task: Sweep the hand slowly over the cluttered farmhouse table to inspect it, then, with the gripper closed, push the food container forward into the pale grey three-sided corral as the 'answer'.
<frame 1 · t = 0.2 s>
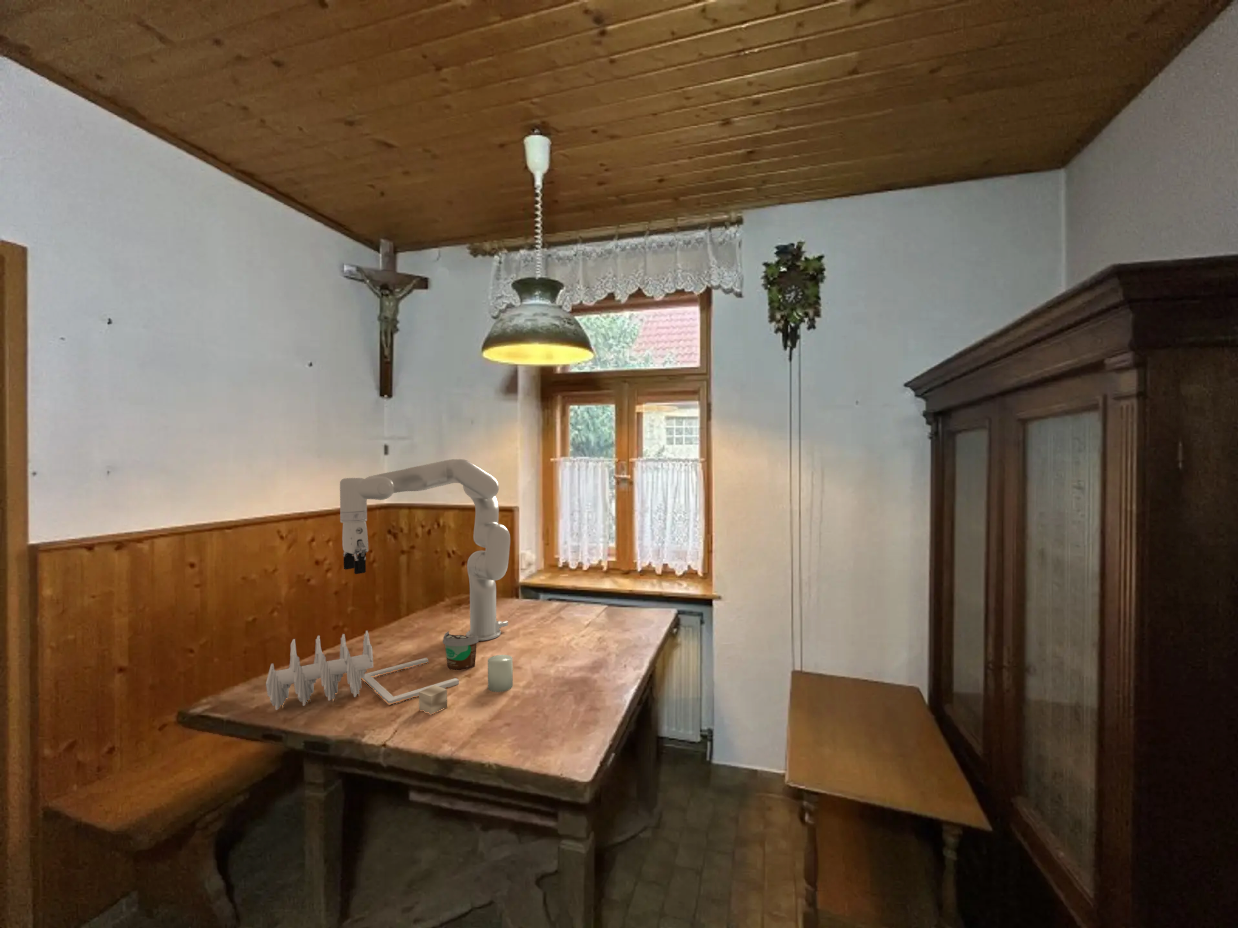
hand: (354, 570, 168), 31 cm above the table, tool pointing down, fingers open, 9 cm apart
spiral staircase: (323, 701, 146), on the table
food container: (456, 668, 168), on the table
pale green cylinder: (500, 686, 154), on the table
birch block: (433, 709, 140), on the table
corral: (412, 680, 159), on the table
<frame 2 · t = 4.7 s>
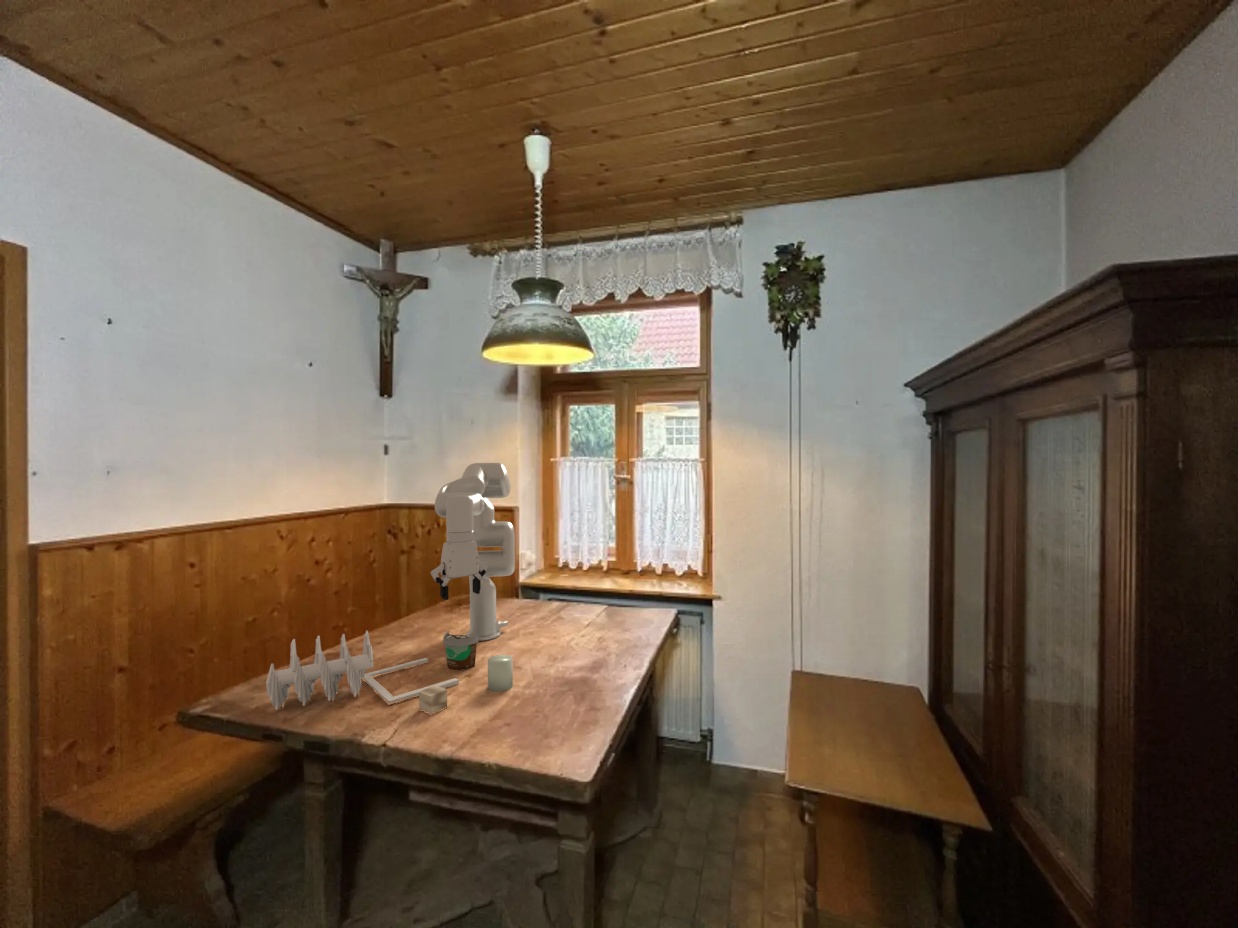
hand: (460, 596, 154), 26 cm above the table, tool pointing down, fingers open, 9 cm apart
nothing on the table moved.
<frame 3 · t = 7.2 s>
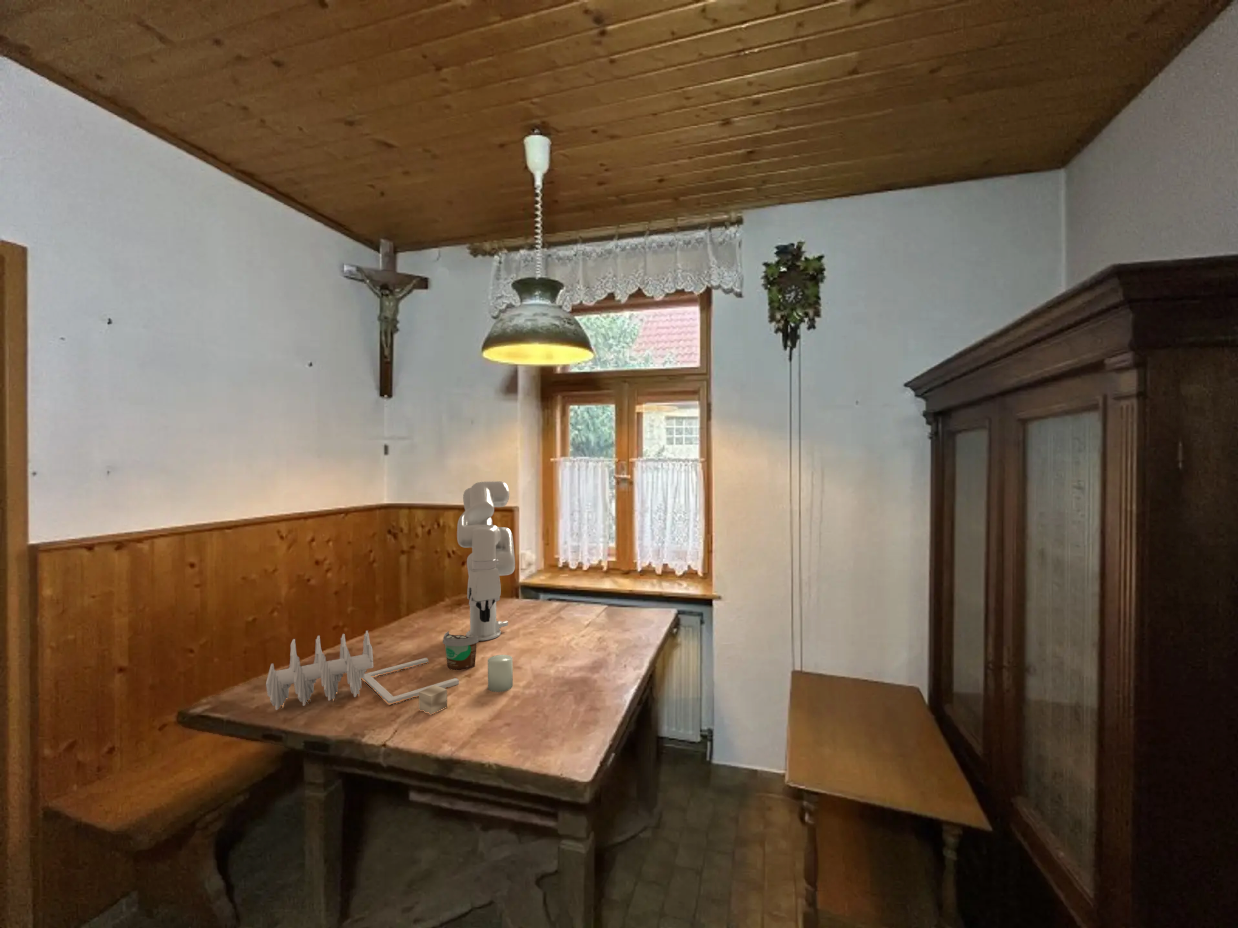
hand: (485, 621, 174), 13 cm above the table, tool pointing down, fingers closed
nothing on the table moved.
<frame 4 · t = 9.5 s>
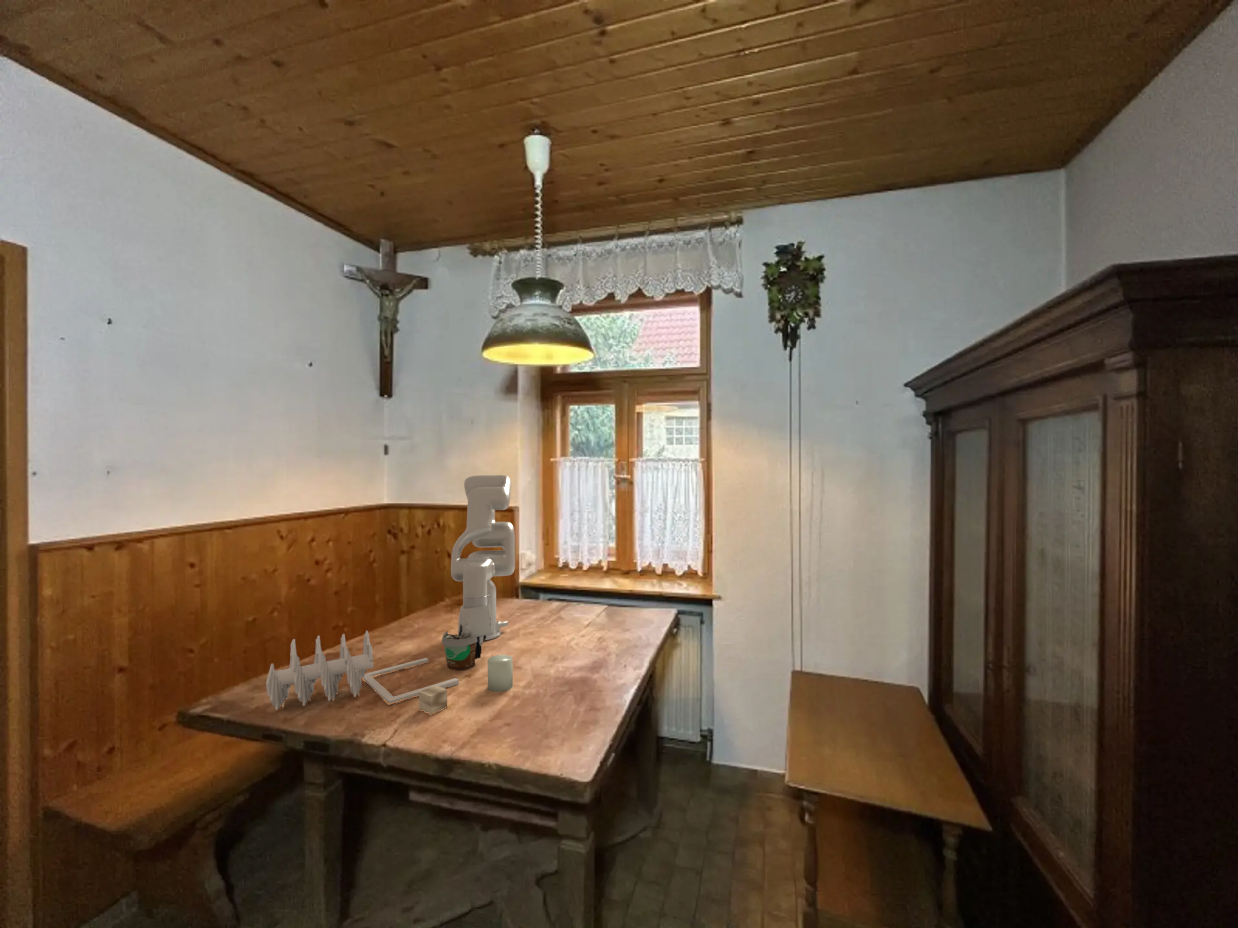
hand: (476, 657, 173), 2 cm above the table, tool pointing down, fingers closed
nothing on the table moved.
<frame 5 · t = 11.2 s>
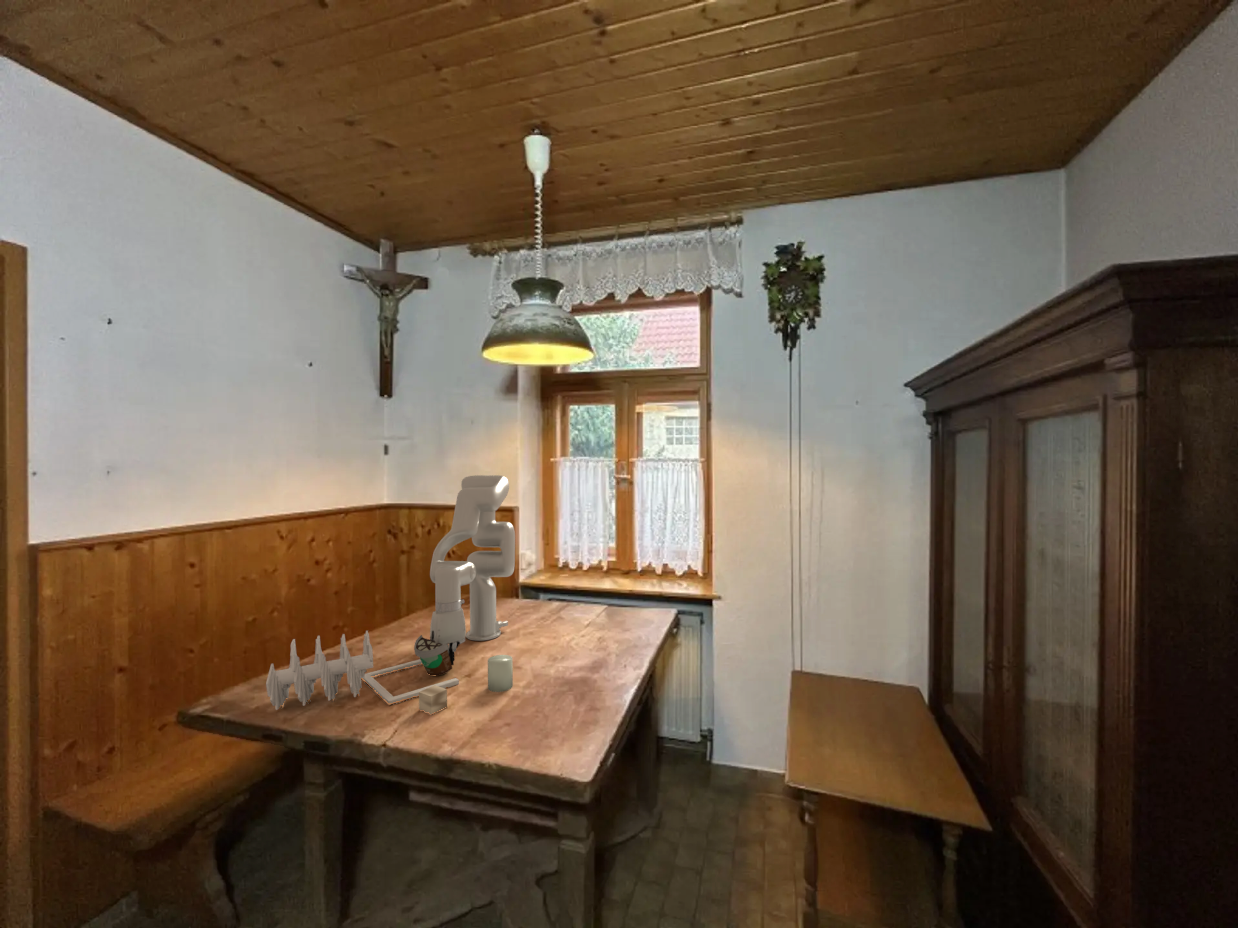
hand: (448, 664, 166), 2 cm above the table, tool pointing down, fingers closed
food container: (434, 671, 164), on the table, touching gripper
everything else where it was.
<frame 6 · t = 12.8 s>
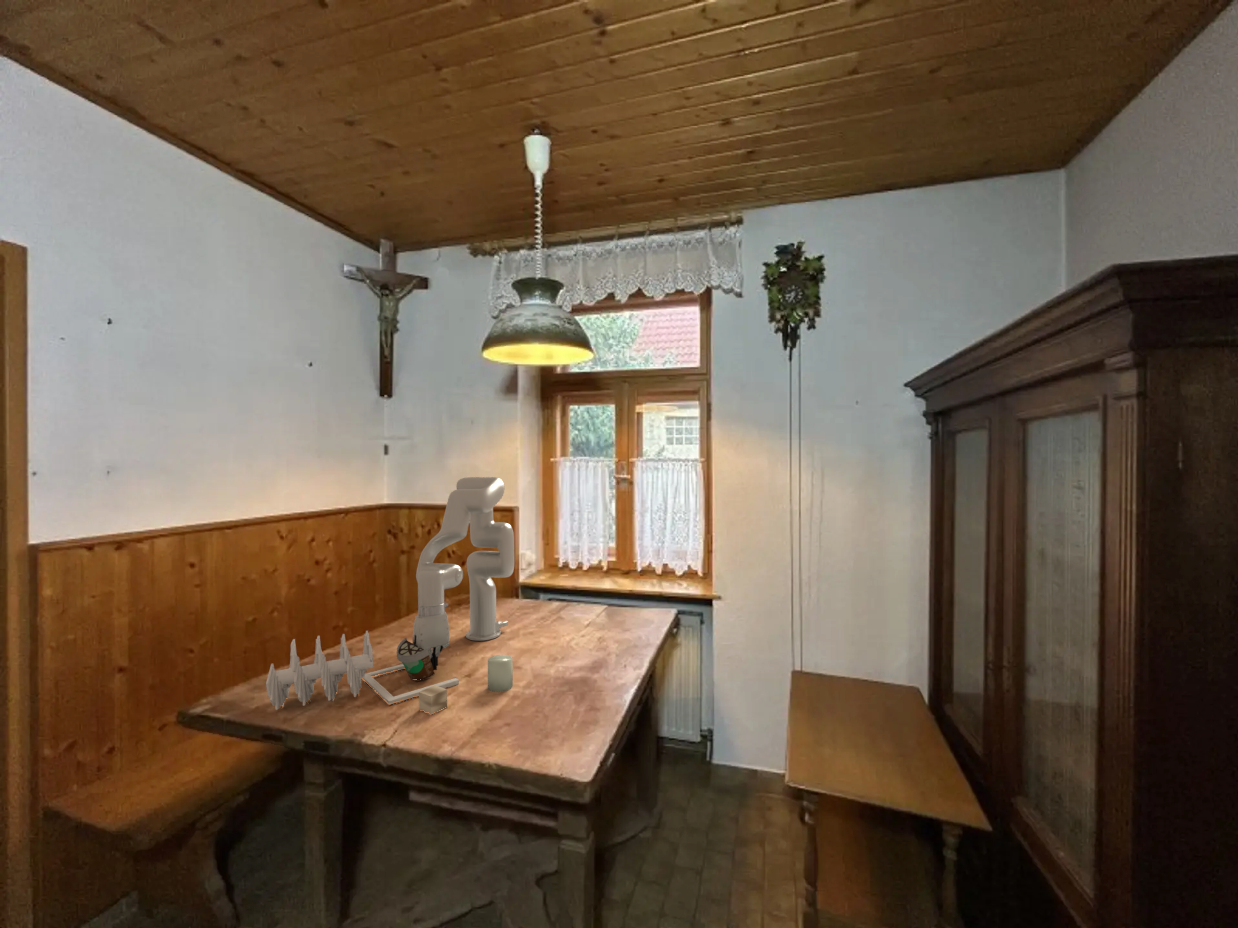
hand: (432, 669, 162), 2 cm above the table, tool pointing down, fingers closed
food container: (417, 676, 161), on the table, touching gripper
everything else where it was.
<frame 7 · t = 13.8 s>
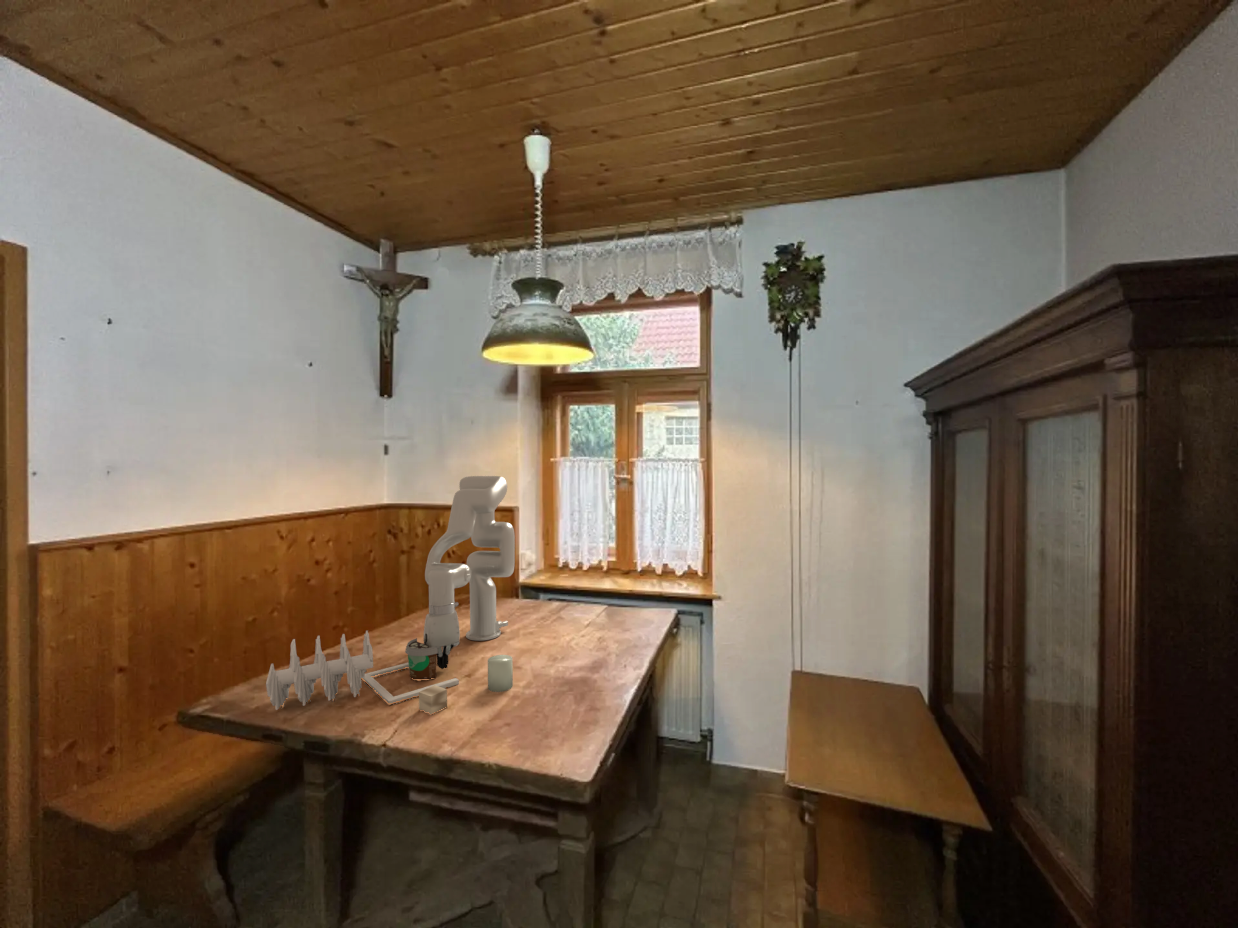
hand: (442, 667, 165), 1 cm above the table, tool pointing down, fingers closed
food container: (417, 678, 161), on the table
everything else where it was.
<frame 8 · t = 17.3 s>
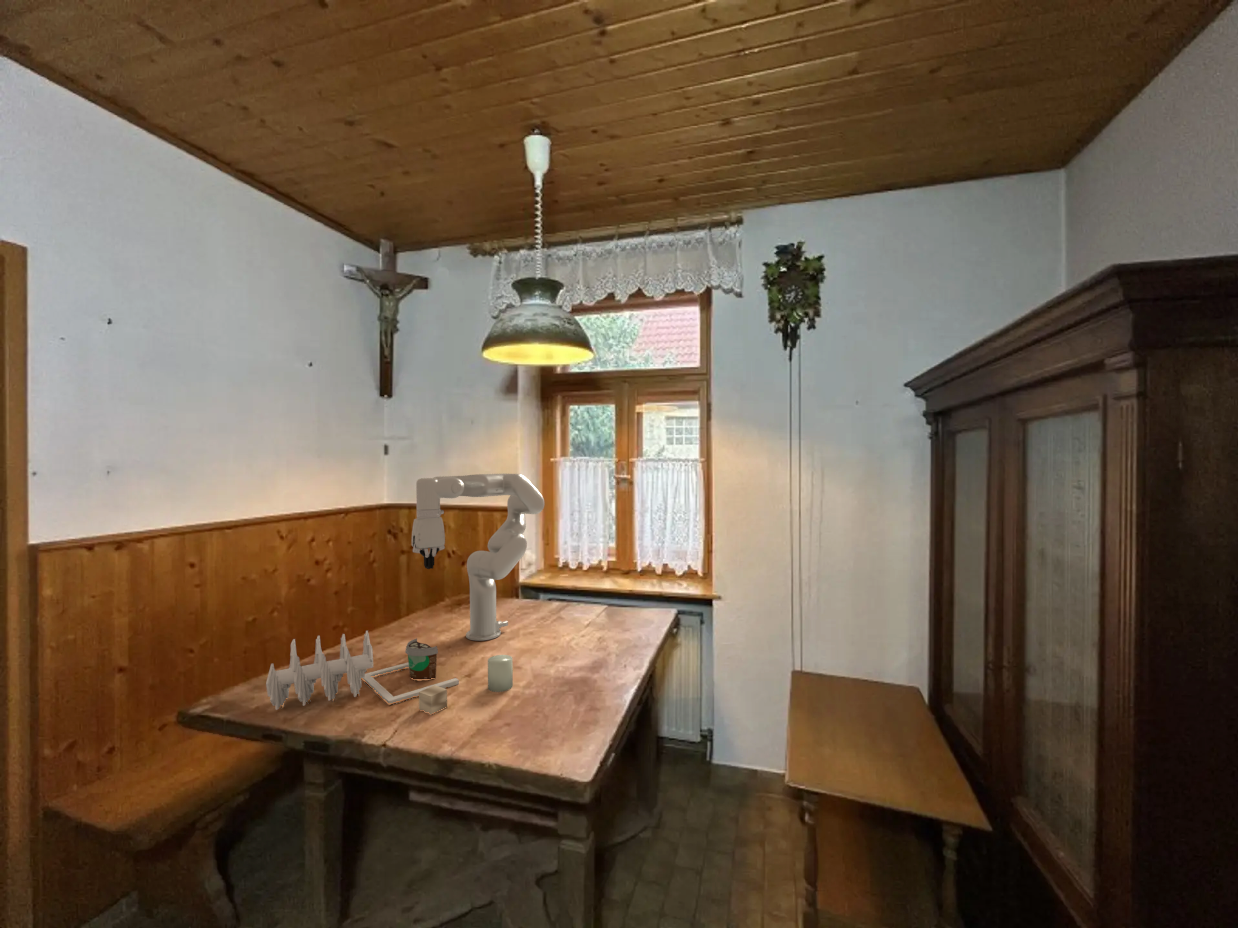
hand: (429, 568, 180), 29 cm above the table, tool pointing down, fingers closed
nothing on the table moved.
at the end: food container inside the target area on the corral (2.1 cm from its centre), point 0.0 cm above the corral's base; food container tilted 0°; food container moved 12.1 cm from its start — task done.
